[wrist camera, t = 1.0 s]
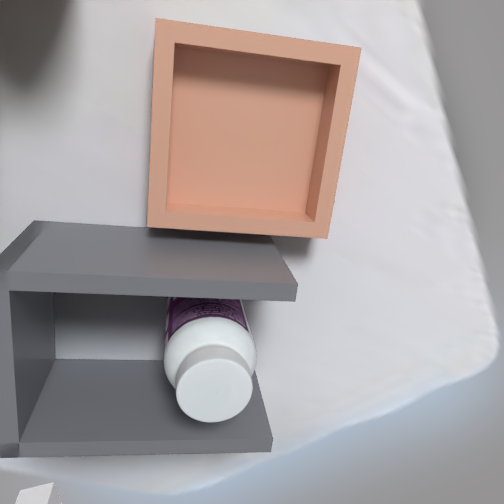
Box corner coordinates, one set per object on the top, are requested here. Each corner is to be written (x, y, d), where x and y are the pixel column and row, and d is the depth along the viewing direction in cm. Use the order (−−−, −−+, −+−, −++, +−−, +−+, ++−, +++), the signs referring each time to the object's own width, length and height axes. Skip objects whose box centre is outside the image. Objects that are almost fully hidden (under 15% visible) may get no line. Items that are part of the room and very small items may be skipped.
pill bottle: (150, 295, 32) (139, 380, 23) (217, 257, 31) (233, 327, 22) (191, 351, 34) (196, 450, 25) (255, 316, 33) (283, 402, 25)
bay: (40, 371, 32) (0, 457, 25) (34, 220, 29) (-16, 269, 21) (251, 373, 35) (270, 452, 28) (269, 235, 31) (298, 284, 24)
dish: (149, 213, 30) (147, 227, 27) (158, 24, 26) (155, 18, 23) (314, 224, 32) (327, 238, 29) (343, 50, 28) (361, 47, 25)
